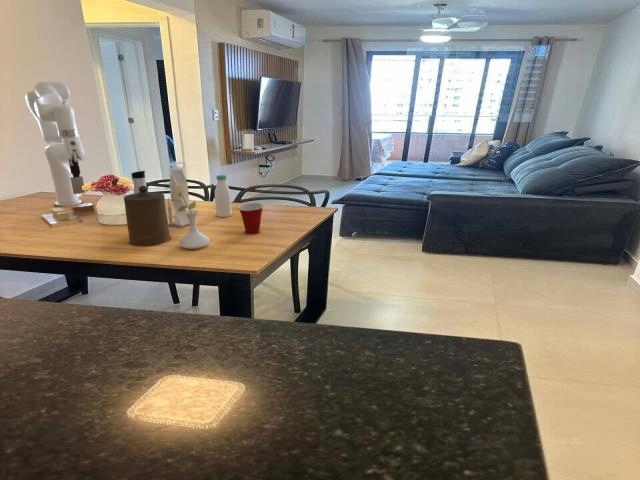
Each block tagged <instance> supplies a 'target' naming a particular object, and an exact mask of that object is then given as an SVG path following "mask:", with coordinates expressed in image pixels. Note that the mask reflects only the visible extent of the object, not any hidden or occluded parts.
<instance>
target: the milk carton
mask: <svg viewBox="0 0 640 480" xmlns="http://www.w3.org/2000/svg"><path fill="white" fill-rule="evenodd" d="M178 164H182V167H181V166H180V165H179V166H177V165H178ZM185 165H186V163H185V162H184V161H181V162H180V161H178V162H175V163H173V164H172V166H171V168H170V169H169V172H170V175H169V193H170V196H171V195H172V194H173V190H175V189H176V187H177V186H178V185H180V186H181V184H184V186H185V185H186V186H187V190H186V193H185V195H184V196H183V197H184V199H185V201H186V204H187V206H189V186H188V181H187V178H186V175H185V171H184V169H185ZM171 199H172V198H169V197H167V200H168V201H167V205H168V207H167V211H168V227H169V226H170V227H174V228H178V229H180V228H183V227H186V226H187V227H188V226H190V221H189V218H188V216H187V215H186V214H185V212H186V211H188V208H187V207H186V208H185V209H184V210H183V211H178V209H179V208H180V207H181V206H183V205H185V206H186V204H185V201H184V199H183V198H181V199H180V200H178V201H176V202H175V201H171V202H172V206H173V210H174V213H175V215H174V217H173V213H172V212H173V210H172V207H171V202H170V200H171Z"/></svg>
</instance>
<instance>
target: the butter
mask: <svg viewBox="0 0 640 480" xmlns="http://www.w3.org/2000/svg"><path fill="white" fill-rule="evenodd" d="M65 211H66V210H65V209H64V208H62V207H54V208H51V214H52V213H53V215H54V216H55V217H56V218H58V217H57V213H60V212H65Z"/></svg>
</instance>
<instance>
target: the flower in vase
mask: <svg viewBox="0 0 640 480" xmlns="http://www.w3.org/2000/svg"><path fill="white" fill-rule="evenodd" d="M187 186H188V185H187ZM187 186H186V185H185V186H184V184H181V186H180V185H178V186H177V187H176V189H175V190H173V194H172V195H171V194H170V198H169V199H170V201H171V202H172V201H175V202H176V201H178V200H180V199H181V198H183V199H184V197H183V196H184V195H185V193H186V190H187ZM171 198H172V199H171ZM184 201H185V199H184ZM185 204H186V201H185ZM186 207H187V211H186V212H185V214H186V215H187V216H188V218H189V221H190V225H189V232H187V233H186V234H185V235H184V236H183V237H182V238H181V239H180V240H179V244H178V245H179V246H180V247H181V248H182V249H188V250H196V249H202V248H205V247H206V246H208V245H210V242H211V240H210V238H209V237H208V236H207V235H205V234H203V233H202V232H200V231H199V230H198V228H197V216H198V214H199V213H200V212H199V210H195V208H196V207H197V203H196V201H193V202H191V203H190V204H188V205H187V204H186V206H185V205H183V206H181V207H180V208H179V209H178V211H183V210H184V209H185V208H186Z"/></svg>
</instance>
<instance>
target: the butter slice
mask: <svg viewBox="0 0 640 480" xmlns="http://www.w3.org/2000/svg"><path fill="white" fill-rule="evenodd" d="M57 217H58V220H65V219H69V215H68V212H60V213H57Z"/></svg>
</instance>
